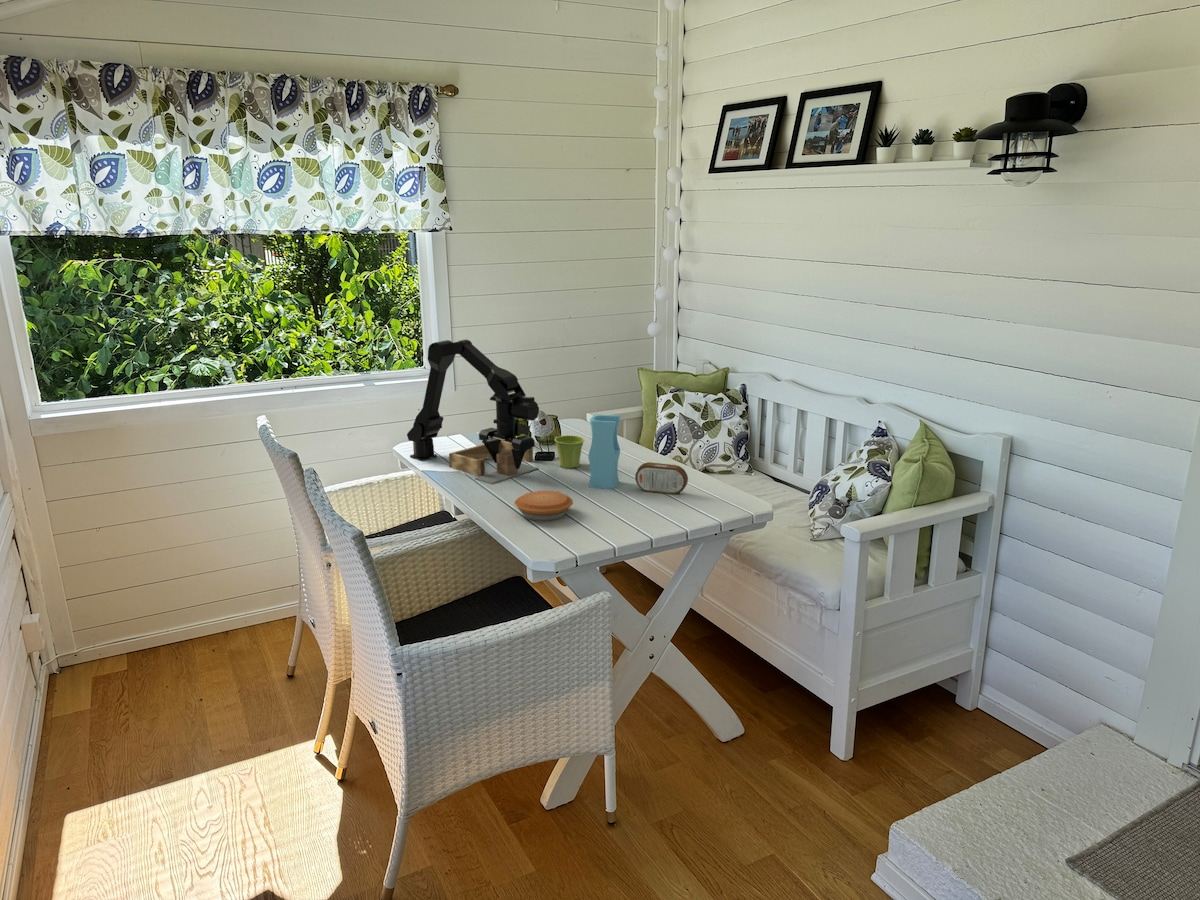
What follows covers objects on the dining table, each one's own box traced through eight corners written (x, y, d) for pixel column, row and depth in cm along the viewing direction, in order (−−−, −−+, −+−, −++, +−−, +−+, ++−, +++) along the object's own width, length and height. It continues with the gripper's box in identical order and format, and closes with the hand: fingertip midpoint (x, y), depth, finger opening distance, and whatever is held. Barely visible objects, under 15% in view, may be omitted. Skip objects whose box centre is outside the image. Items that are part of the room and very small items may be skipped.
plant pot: (586, 462, 281) (586, 435, 278) (582, 470, 272) (582, 443, 269) (557, 461, 282) (556, 434, 279) (552, 469, 273) (552, 442, 270)
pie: (542, 500, 245) (542, 483, 244) (584, 512, 236) (584, 495, 234) (502, 515, 234) (502, 497, 232) (545, 528, 224) (545, 510, 223)
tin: (687, 493, 252) (688, 465, 250) (685, 496, 249) (686, 468, 247) (636, 488, 256) (637, 460, 253) (634, 491, 253) (634, 463, 250)
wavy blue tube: (614, 489, 255) (615, 422, 249) (588, 487, 256) (588, 420, 251) (619, 480, 262) (620, 415, 257) (593, 479, 264) (594, 414, 258)
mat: (474, 479, 263) (474, 477, 263) (522, 464, 277) (522, 463, 277) (491, 484, 258) (491, 482, 258) (538, 469, 273) (538, 467, 273)
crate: (448, 467, 274) (448, 451, 272) (501, 452, 290) (501, 437, 289) (480, 476, 265) (480, 460, 263) (532, 460, 282) (532, 445, 280)
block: (497, 472, 268) (496, 454, 266) (507, 469, 271) (506, 451, 269) (507, 475, 265) (506, 456, 263) (517, 472, 268) (517, 453, 266)
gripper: (547, 416, 263) (547, 466, 267) (503, 406, 275) (504, 454, 279) (520, 423, 255) (521, 474, 259) (477, 412, 266) (478, 462, 271)
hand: (507, 465), depth 267 cm, fingers open, 9 cm apart
